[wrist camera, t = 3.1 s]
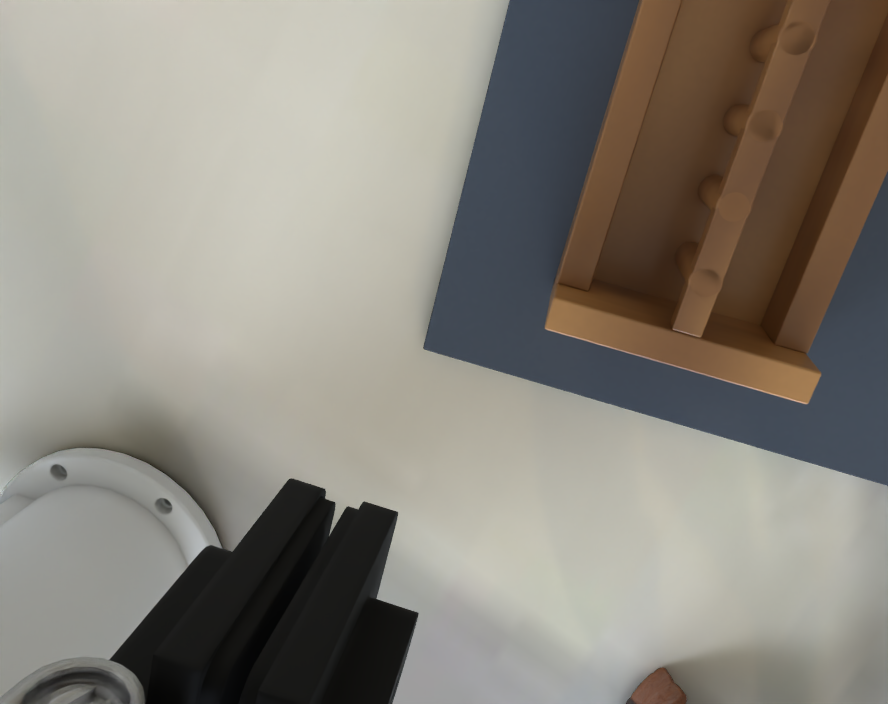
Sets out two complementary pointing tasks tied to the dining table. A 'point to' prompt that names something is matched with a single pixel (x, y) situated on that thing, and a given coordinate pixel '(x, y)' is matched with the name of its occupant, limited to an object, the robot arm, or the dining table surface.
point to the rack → (729, 186)
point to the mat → (543, 241)
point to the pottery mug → (658, 690)
